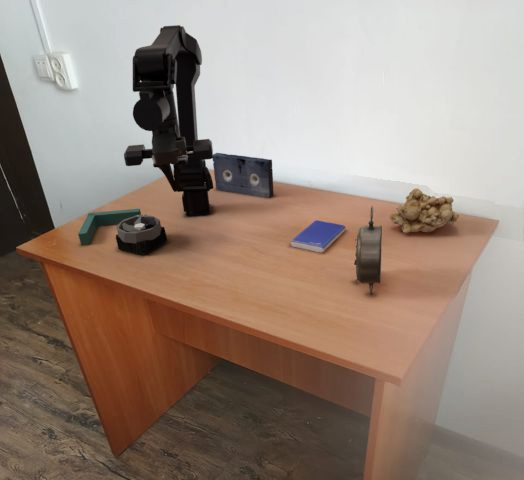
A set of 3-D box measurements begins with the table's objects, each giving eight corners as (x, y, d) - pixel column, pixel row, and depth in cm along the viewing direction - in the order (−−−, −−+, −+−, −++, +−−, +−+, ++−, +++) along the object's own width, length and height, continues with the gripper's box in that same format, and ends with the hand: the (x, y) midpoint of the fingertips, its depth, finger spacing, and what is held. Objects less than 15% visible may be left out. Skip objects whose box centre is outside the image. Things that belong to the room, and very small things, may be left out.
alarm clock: (379, 298, 96) (387, 219, 86) (350, 297, 97) (355, 218, 87) (380, 270, 104) (387, 195, 94) (354, 269, 106) (358, 194, 95)
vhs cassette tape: (274, 195, 141) (272, 159, 135) (268, 198, 139) (266, 162, 133) (221, 186, 149) (217, 151, 143) (215, 189, 147) (211, 155, 141)
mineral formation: (408, 211, 127) (468, 219, 119) (385, 239, 120) (447, 250, 112) (408, 181, 121) (471, 188, 113) (383, 209, 115) (448, 218, 107)
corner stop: (142, 219, 133) (139, 208, 132) (136, 240, 123) (133, 229, 121) (91, 223, 133) (88, 212, 131) (81, 245, 123) (77, 234, 121)
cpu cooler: (139, 235, 112) (106, 227, 116) (144, 258, 115) (112, 250, 120) (168, 217, 119) (136, 211, 123) (172, 240, 122) (141, 232, 126)
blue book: (322, 246, 111) (345, 225, 119) (290, 240, 115) (314, 219, 123) (322, 253, 112) (345, 231, 120) (290, 246, 116) (314, 225, 124)
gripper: (112, 131, 97) (130, 208, 107) (207, 123, 98) (217, 201, 107) (120, 117, 106) (136, 189, 116) (208, 110, 107) (216, 182, 116)
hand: (175, 191), depth 114 cm, fingers closed
